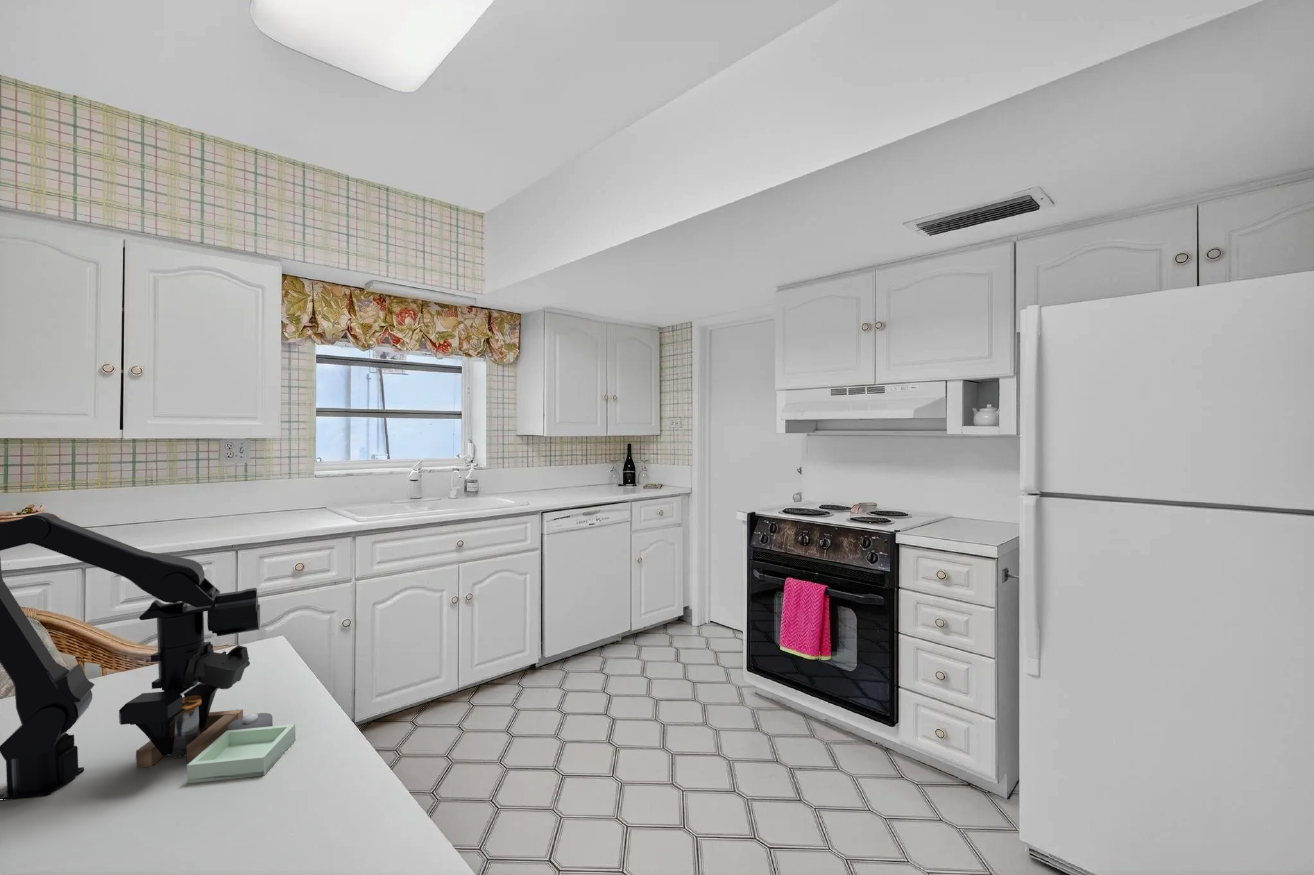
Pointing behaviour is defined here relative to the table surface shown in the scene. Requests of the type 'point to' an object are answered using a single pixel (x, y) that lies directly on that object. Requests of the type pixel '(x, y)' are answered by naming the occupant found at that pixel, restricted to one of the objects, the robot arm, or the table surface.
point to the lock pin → (186, 726)
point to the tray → (241, 754)
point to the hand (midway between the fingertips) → (184, 741)
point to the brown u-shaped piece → (212, 732)
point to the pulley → (252, 721)
